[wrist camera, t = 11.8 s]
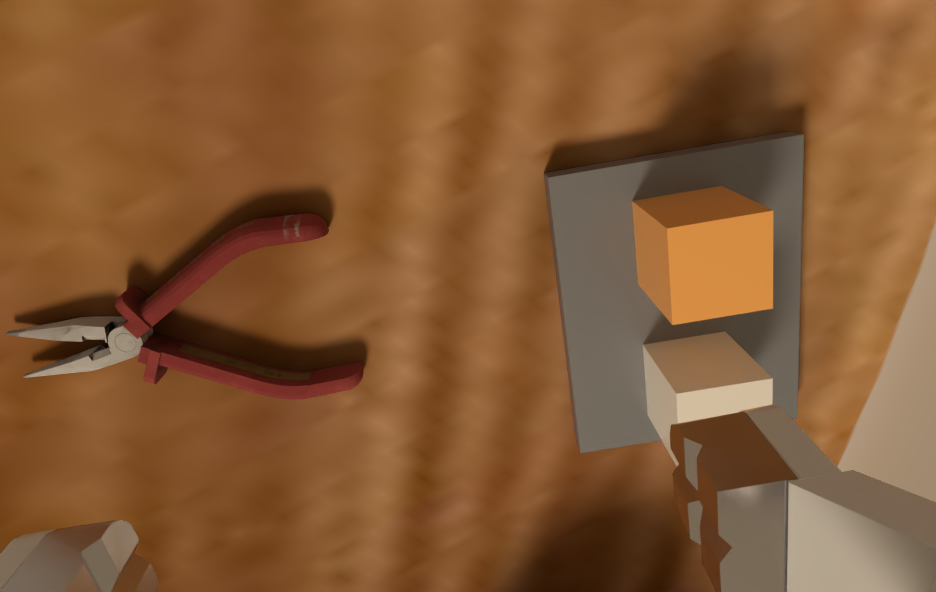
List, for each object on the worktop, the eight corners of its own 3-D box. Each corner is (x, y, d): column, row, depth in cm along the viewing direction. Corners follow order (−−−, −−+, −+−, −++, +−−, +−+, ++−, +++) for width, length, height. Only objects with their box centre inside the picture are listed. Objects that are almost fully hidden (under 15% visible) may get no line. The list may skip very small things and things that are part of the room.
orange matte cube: (631, 200, 36) (666, 228, 30) (721, 185, 36) (773, 210, 30) (638, 284, 38) (672, 325, 32) (723, 270, 37) (772, 308, 32)
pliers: (-11, 258, 38) (-42, 273, 35) (327, 203, 37) (319, 214, 35) (64, 424, 42) (41, 448, 39) (369, 376, 41) (364, 397, 39)
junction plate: (543, 172, 37) (567, 201, 30) (790, 131, 36) (873, 149, 29) (576, 440, 43) (601, 515, 36) (785, 406, 43) (853, 476, 36)
